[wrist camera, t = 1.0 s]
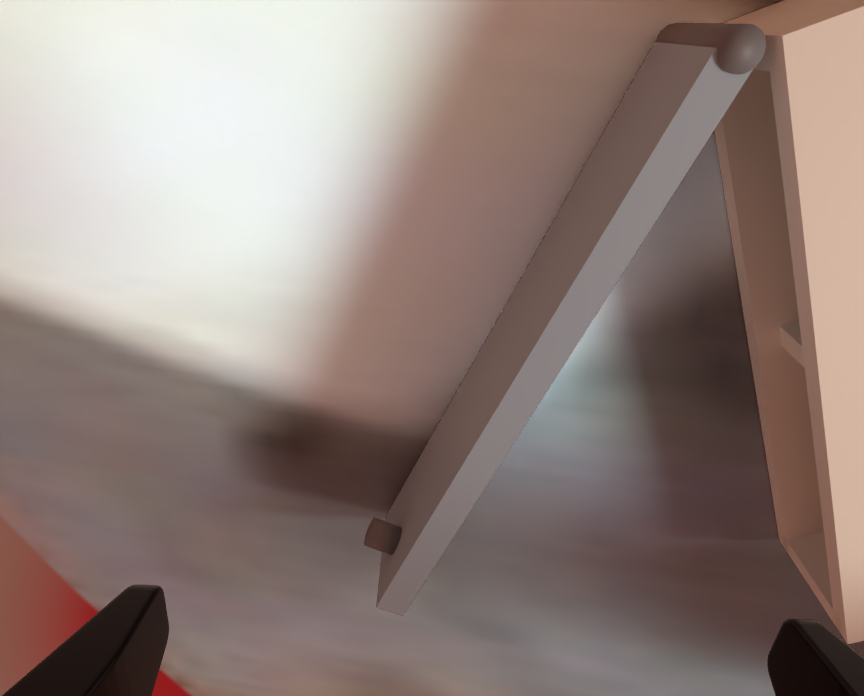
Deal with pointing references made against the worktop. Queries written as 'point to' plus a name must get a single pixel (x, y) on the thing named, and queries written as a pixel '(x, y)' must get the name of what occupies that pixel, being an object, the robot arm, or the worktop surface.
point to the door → (564, 288)
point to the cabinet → (806, 281)
